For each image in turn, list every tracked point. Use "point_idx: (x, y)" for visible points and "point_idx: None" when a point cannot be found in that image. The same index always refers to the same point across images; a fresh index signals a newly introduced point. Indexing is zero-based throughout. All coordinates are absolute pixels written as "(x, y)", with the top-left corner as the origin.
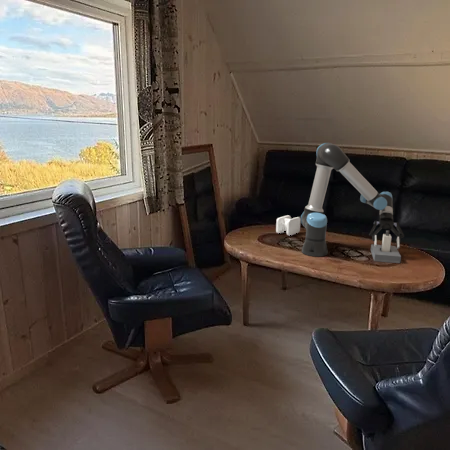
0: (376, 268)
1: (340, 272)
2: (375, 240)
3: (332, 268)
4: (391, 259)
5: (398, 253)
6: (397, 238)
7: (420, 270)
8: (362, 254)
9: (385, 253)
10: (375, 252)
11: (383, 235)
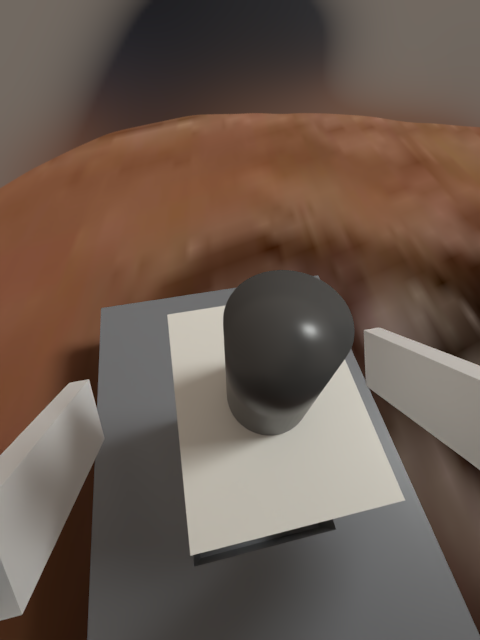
0: (267, 209)
1: (393, 134)
2: (419, 347)
3: (443, 153)
4: None
5: (108, 389)
6: (16, 502)
7: (12, 265)
8: None
9: None
10: None
11: (355, 399)
